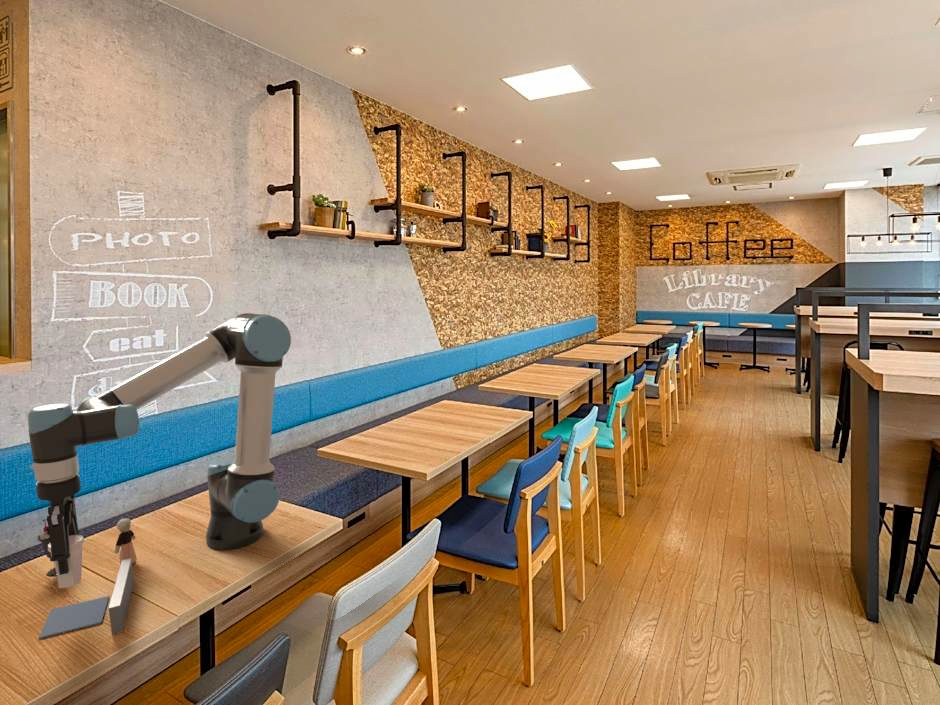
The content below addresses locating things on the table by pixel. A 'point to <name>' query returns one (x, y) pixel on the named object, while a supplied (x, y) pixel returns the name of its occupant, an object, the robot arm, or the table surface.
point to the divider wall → (121, 596)
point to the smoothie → (74, 556)
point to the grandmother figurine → (125, 541)
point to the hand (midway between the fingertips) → (70, 578)
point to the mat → (74, 617)
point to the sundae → (46, 545)
